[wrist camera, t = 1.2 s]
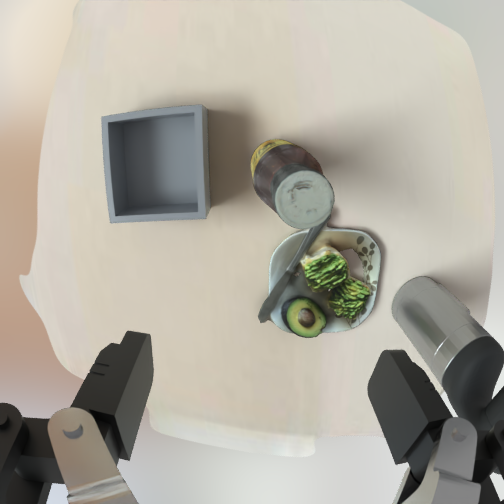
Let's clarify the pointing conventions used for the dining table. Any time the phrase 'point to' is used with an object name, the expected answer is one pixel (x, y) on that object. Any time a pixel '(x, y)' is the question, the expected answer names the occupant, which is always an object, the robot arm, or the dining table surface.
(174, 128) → the bottle caddy
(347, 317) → the salad plate
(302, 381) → the dining table surface
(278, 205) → the sauce bottle
